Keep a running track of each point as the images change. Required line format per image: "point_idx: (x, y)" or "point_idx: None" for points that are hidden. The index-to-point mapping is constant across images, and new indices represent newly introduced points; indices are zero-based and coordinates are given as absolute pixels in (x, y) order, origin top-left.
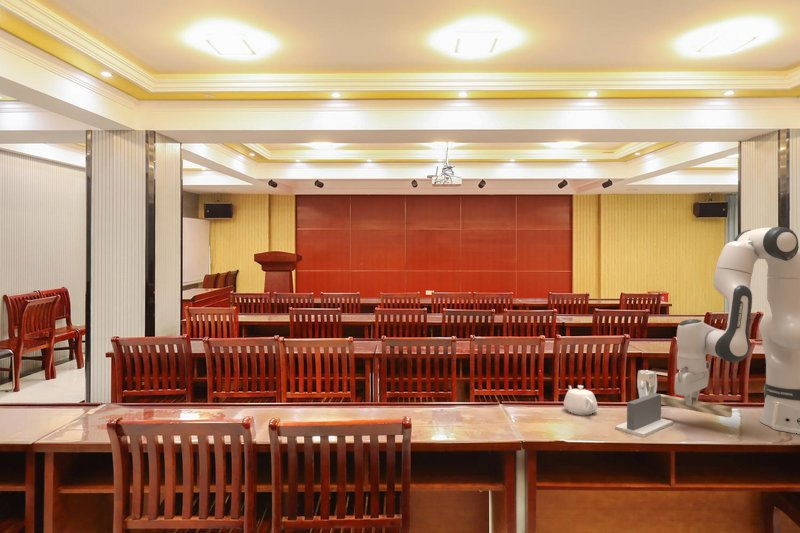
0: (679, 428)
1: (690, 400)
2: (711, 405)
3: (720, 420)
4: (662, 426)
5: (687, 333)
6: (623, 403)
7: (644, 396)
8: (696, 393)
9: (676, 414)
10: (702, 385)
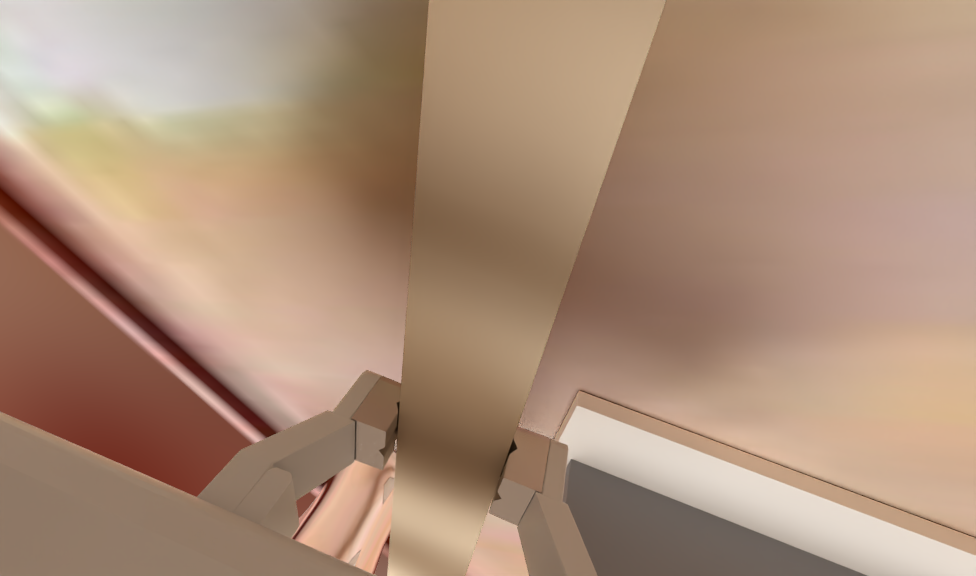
0: (671, 362)
1: (568, 511)
2: (570, 247)
3: (234, 98)
4: (754, 469)
5: None
6: None
7: (375, 570)
8: (289, 469)
9: (343, 358)
10: (56, 548)
